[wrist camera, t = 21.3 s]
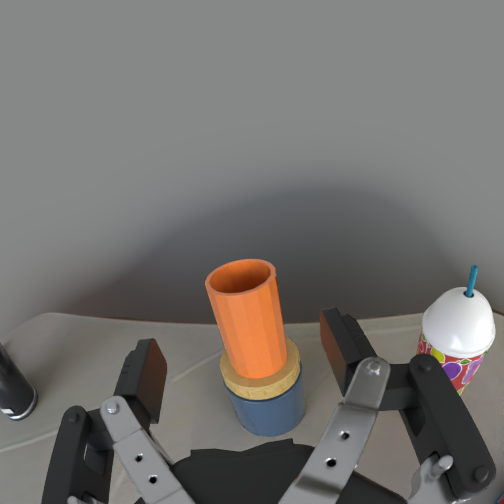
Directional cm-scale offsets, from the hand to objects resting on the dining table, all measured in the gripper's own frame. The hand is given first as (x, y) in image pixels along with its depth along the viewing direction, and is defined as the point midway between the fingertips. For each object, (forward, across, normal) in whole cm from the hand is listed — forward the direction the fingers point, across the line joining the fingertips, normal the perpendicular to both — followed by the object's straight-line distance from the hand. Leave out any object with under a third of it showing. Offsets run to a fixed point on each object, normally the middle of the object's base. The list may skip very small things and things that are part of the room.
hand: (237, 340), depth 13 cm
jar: (+11, 0, +23) cm, 25 cm away
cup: (+11, 0, +13) cm, 17 cm away
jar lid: (+11, 0, +13) cm, 17 cm away
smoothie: (+4, -20, +23) cm, 31 cm away
